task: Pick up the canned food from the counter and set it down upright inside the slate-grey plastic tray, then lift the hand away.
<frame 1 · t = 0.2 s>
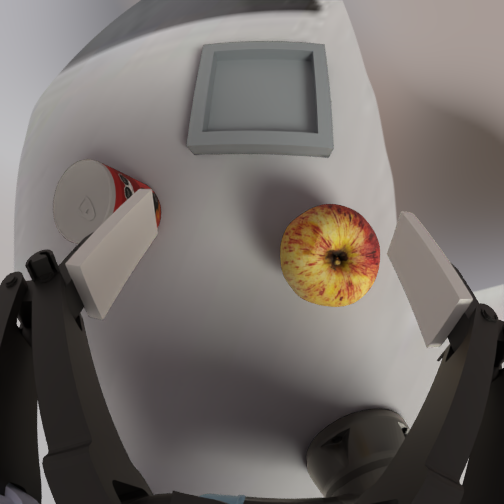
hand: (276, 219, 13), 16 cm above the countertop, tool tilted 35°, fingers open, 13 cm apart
apple: (319, 255, 29), on the countertop
tray: (262, 97, 29), on the countertop
canned food: (136, 214, 31), on the countertop
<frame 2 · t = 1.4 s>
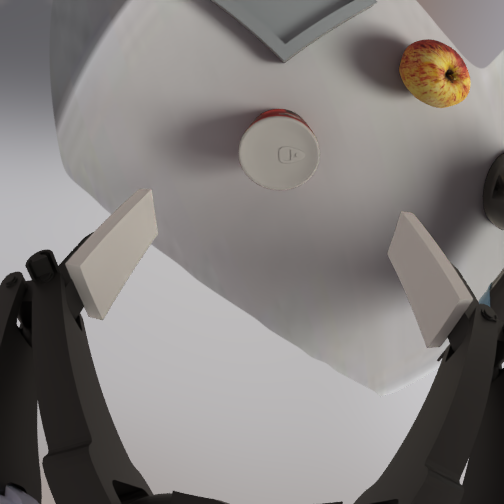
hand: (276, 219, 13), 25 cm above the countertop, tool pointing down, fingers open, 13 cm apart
apple: (415, 73, 25), on the countertop
canned food: (279, 135, 34), on the countertop
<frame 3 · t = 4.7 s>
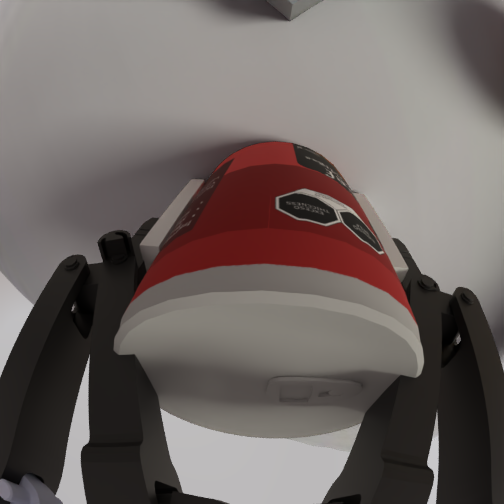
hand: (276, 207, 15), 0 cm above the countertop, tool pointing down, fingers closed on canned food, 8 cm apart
canned food: (277, 203, 15), on the countertop, touching gripper
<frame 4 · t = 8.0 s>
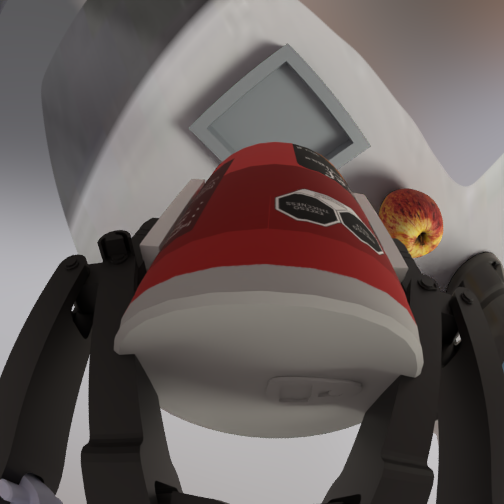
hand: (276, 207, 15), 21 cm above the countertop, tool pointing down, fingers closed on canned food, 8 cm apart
apple: (396, 205, 36), on the countertop
tray: (280, 128, 32), on the countertop
canned food: (276, 203, 15), point 21 cm above the countertop, touching gripper
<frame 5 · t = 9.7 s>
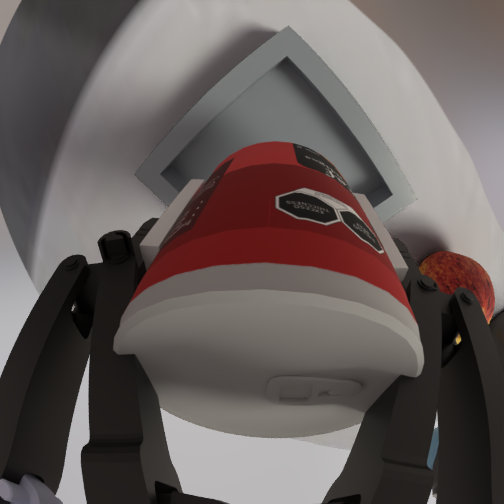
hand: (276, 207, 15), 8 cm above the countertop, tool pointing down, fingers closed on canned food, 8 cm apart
apple: (433, 267, 25), on the countertop
tray: (278, 167, 21), on the countertop
canned food: (277, 203, 15), point 7 cm above the countertop, touching gripper
when the fingers open (4 cm above the countertop, at t = 11.3 s): canned food drops 3 cm, resting on tray.
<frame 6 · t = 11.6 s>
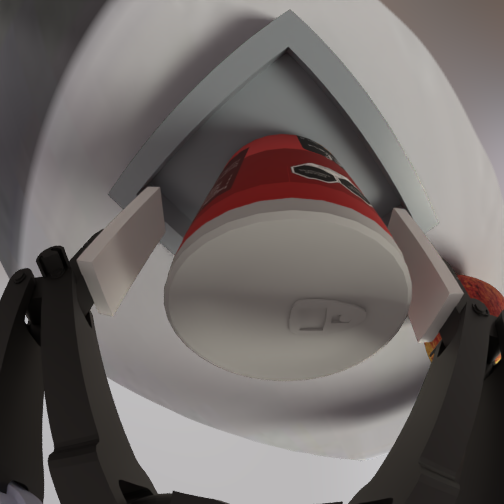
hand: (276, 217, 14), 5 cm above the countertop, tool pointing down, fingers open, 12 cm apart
apple: (447, 290, 22), on the countertop
tray: (277, 183, 18), on the countertop
canned food: (283, 188, 17), point 1 cm above the countertop, touching tray
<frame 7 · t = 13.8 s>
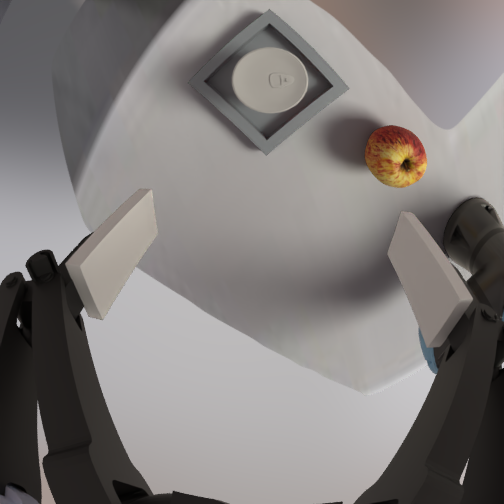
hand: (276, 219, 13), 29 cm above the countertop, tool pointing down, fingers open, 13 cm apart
apple: (382, 147, 37), on the countertop
tray: (268, 80, 33), on the countertop
canned food: (271, 81, 32), point 1 cm above the countertop, touching tray
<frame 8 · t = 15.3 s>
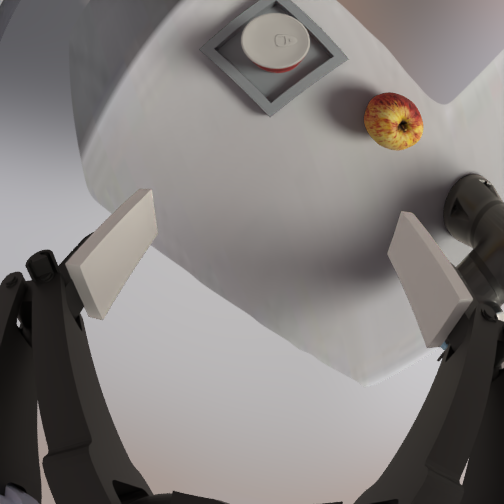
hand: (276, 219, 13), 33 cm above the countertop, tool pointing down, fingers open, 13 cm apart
apple: (381, 117, 37), on the countertop
tray: (274, 51, 33), on the countertop
canned food: (276, 51, 32), point 1 cm above the countertop, touching tray
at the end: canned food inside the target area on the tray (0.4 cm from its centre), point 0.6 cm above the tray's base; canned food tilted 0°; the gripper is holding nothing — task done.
